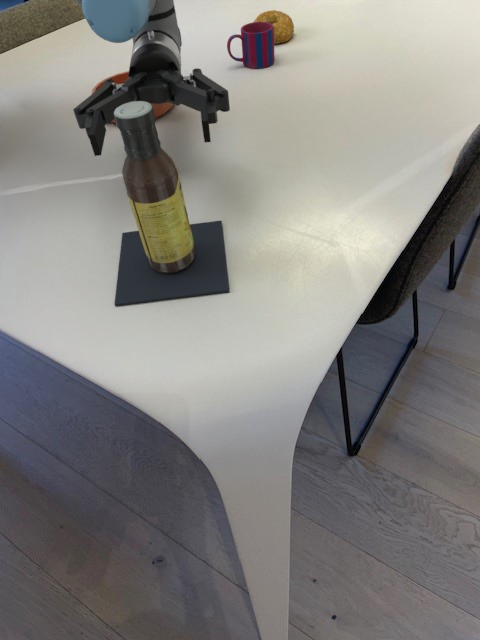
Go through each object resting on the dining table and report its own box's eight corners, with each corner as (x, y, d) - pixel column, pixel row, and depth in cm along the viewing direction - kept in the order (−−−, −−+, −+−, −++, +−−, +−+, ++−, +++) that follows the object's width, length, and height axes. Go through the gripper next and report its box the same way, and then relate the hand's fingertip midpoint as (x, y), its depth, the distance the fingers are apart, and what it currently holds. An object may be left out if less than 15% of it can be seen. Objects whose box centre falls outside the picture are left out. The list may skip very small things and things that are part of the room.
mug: (278, 65, 103) (277, 29, 98) (232, 74, 103) (229, 38, 97) (269, 54, 108) (268, 19, 103) (225, 62, 107) (221, 27, 102)
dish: (94, 130, 91) (87, 109, 88) (102, 95, 101) (96, 75, 98) (175, 120, 91) (171, 98, 88) (175, 86, 101) (171, 65, 98)
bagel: (239, 41, 114) (237, 18, 111) (273, 27, 119) (272, 4, 115) (268, 51, 109) (267, 27, 106) (303, 36, 113) (303, 12, 110)
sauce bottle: (206, 256, 64) (179, 105, 49) (169, 283, 61) (129, 131, 46) (174, 237, 67) (139, 89, 52) (138, 261, 64) (91, 112, 50)
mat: (115, 306, 60) (114, 304, 60) (123, 234, 69) (122, 232, 69) (229, 292, 60) (229, 289, 59) (221, 222, 69) (221, 220, 69)
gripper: (64, 52, 71) (36, 121, 57) (236, 31, 71) (250, 95, 57) (81, 103, 77) (59, 178, 62) (240, 84, 76) (254, 154, 62)
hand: (150, 138), depth 59 cm, fingers open, 13 cm apart
